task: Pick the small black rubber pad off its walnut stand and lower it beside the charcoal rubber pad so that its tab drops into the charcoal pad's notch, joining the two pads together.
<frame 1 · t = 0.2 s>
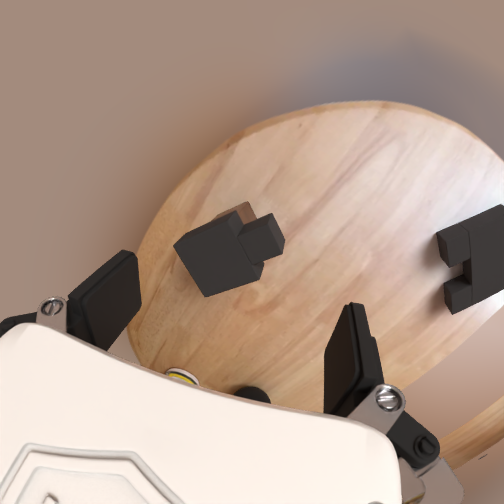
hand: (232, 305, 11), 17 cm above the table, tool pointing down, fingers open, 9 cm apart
stand: (240, 223, 28), on the table
decorative object: (254, 389, 40), on the table
pill bottle: (183, 377, 42), on the table
base pad: (474, 255, 24), on the table
small pad: (224, 248, 22), point 6 cm above the table, touching stand
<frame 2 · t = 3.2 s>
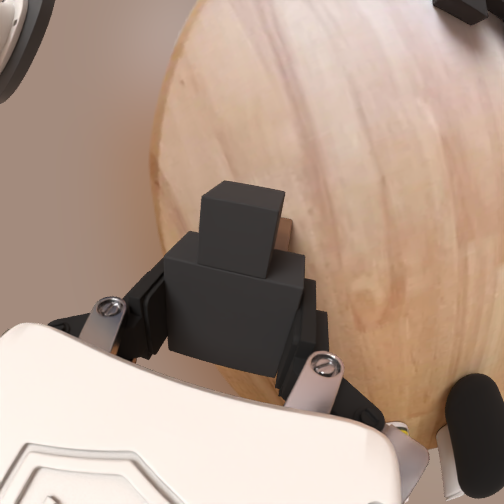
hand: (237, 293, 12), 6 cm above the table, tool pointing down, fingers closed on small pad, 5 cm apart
stand: (259, 239, 18), on the table
decorative object: (463, 379, 20), on the table
beverage can: (449, 426, 25), on the table
small pad: (238, 291, 12), point 6 cm above the table, touching gripper, stand
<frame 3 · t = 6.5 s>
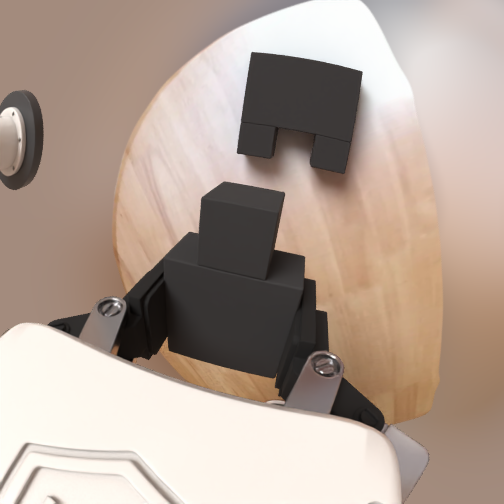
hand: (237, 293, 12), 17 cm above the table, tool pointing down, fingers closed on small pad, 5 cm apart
base pad: (299, 111, 23), on the table
small pad: (238, 291, 12), point 17 cm above the table, touching gripper
when the fingers open (0 cm above the table, at t = 10.0 s): small pad stays where it is, on the table.
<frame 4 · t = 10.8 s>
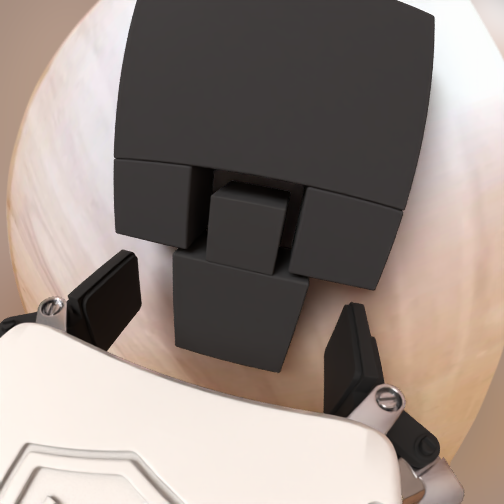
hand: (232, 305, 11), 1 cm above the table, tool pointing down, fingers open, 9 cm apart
base pad: (268, 114, 9), on the table
small pad: (244, 288, 13), on the table
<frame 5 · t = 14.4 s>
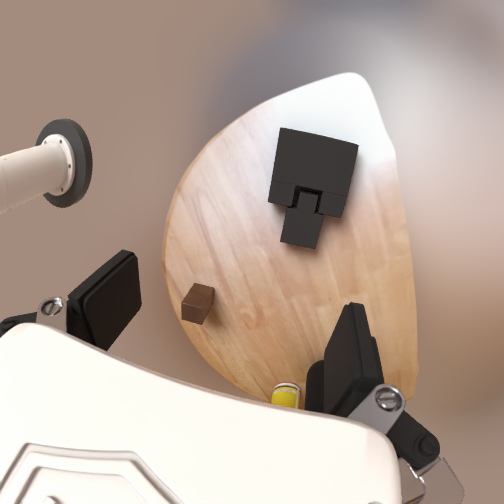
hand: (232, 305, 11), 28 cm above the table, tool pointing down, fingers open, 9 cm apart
stand: (203, 293, 48), on the table
decorative object: (323, 363, 50), on the table
pill bottle: (287, 388, 56), on the table
base pad: (312, 170, 35), on the table
small pad: (301, 223, 39), on the table
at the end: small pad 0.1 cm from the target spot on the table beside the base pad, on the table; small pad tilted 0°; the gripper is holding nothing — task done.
